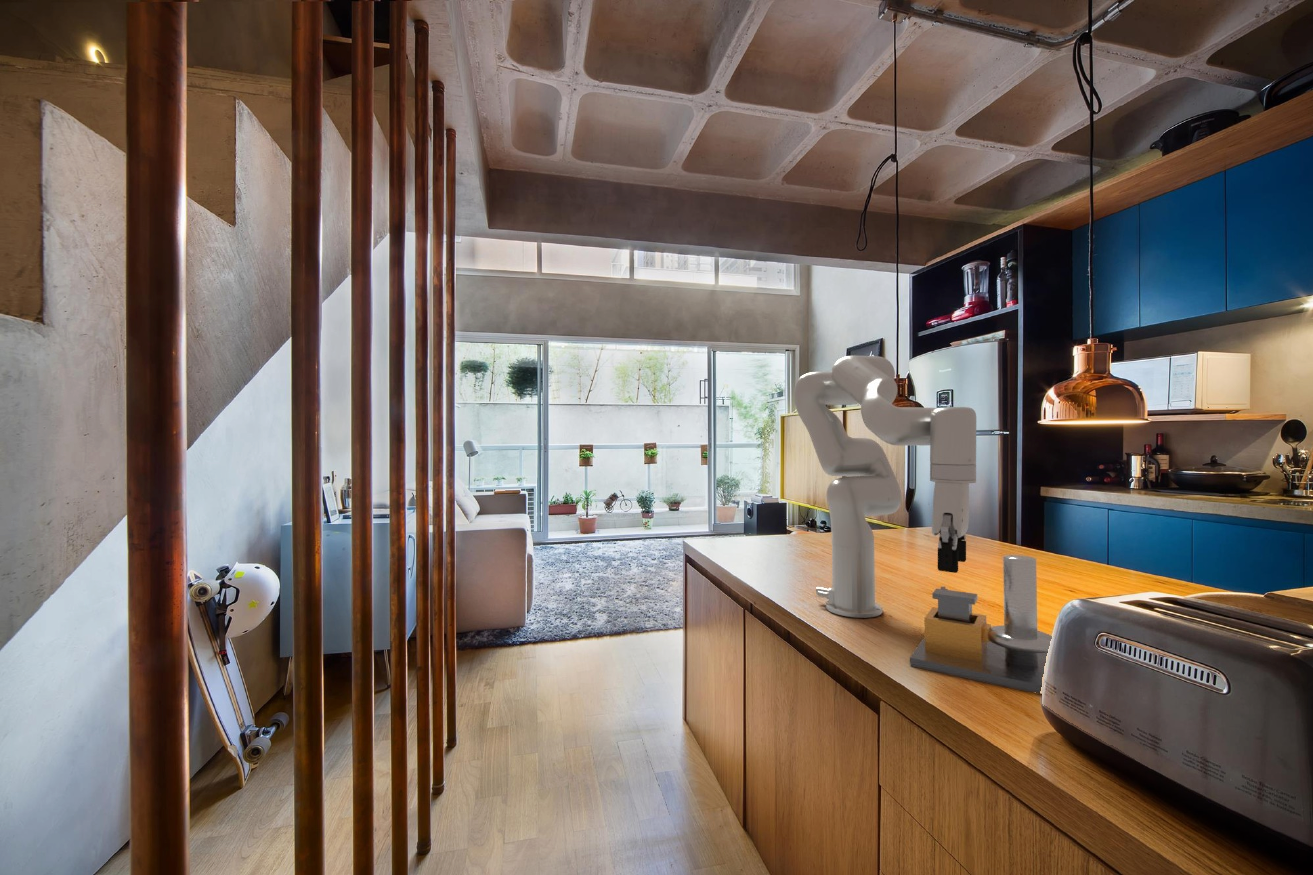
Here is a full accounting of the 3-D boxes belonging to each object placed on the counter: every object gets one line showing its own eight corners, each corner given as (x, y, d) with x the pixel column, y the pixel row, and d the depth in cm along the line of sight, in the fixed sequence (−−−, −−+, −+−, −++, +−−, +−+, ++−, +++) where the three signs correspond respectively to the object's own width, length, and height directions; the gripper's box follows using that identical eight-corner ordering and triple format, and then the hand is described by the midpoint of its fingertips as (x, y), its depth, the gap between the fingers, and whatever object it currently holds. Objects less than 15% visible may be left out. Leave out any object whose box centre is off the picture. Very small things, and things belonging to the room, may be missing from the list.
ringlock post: (910, 666, 97) (908, 556, 97) (929, 636, 112) (928, 540, 112) (1056, 697, 85) (1054, 571, 85) (1057, 660, 99) (1055, 552, 99)
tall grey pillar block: (933, 648, 101) (932, 593, 102) (937, 641, 105) (936, 588, 105) (975, 656, 97) (974, 599, 97) (978, 649, 101) (977, 593, 101)
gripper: (938, 470, 110) (938, 554, 111) (920, 476, 97) (920, 572, 97) (981, 471, 106) (981, 559, 106) (969, 478, 92) (968, 579, 92)
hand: (952, 565), depth 102 cm, fingers open, 9 cm apart
